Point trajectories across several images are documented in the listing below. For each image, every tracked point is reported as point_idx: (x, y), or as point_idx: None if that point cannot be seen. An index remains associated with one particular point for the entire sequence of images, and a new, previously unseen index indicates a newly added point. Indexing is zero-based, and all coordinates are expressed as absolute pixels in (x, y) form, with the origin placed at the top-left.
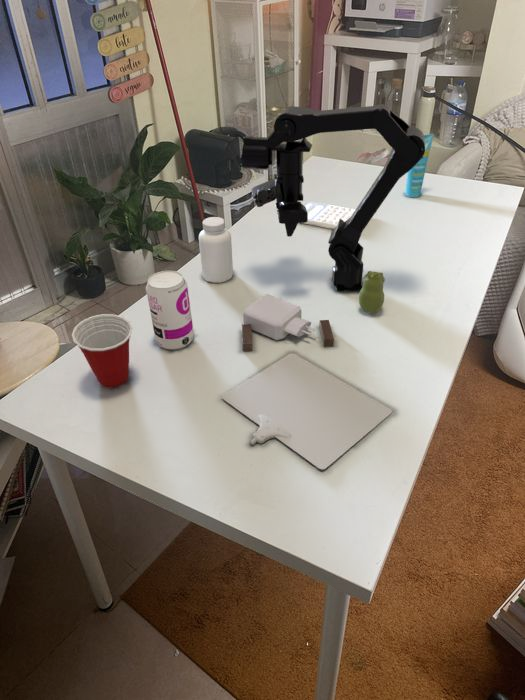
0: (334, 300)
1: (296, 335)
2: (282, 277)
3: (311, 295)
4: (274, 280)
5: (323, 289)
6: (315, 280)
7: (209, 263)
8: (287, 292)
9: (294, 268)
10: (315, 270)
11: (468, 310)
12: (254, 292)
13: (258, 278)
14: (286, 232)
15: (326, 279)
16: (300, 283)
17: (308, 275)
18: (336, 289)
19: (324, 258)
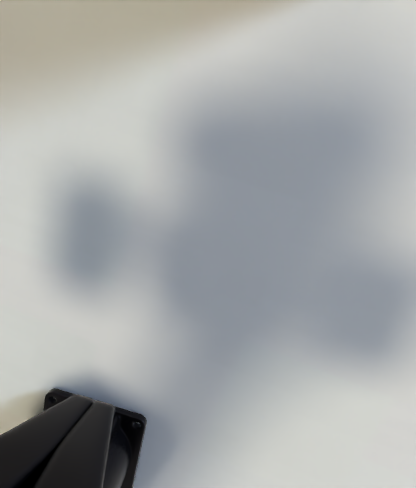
0: (3, 354)
1: None
2: (230, 233)
3: (51, 293)
4: (216, 187)
5: (84, 352)
6: (159, 353)
7: None
8: (95, 210)
9: (294, 315)
10: (240, 387)
11: None
12: (133, 52)
13: (264, 111)
14: (50, 421)
15: (153, 394)
16: (153, 289)
17: (208, 345)
18: (52, 392)
19: (329, 463)
